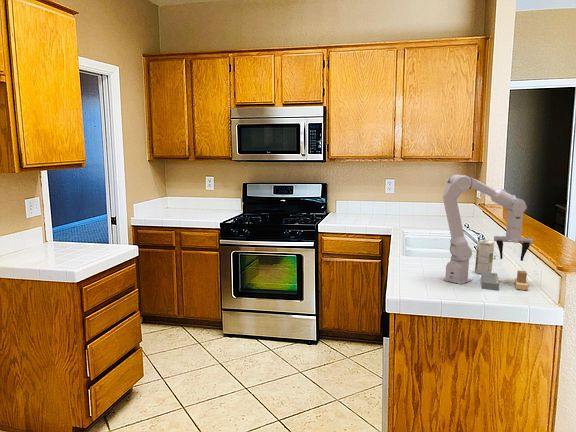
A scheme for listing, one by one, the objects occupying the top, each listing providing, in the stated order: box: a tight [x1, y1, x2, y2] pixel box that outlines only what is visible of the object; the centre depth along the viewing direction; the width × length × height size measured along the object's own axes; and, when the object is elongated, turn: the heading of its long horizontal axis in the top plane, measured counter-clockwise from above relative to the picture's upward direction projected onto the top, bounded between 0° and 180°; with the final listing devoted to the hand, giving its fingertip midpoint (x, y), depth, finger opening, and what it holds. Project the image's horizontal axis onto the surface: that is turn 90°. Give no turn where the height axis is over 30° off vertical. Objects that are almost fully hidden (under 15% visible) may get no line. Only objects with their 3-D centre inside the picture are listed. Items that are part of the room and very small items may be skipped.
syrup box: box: [474, 239, 495, 275], centre depth 209 cm, size 6×6×14 cm
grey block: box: [481, 272, 500, 291], centre depth 192 cm, size 6×18×3 cm, turn 158°
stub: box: [513, 269, 529, 291], centre depth 187 cm, size 4×10×6 cm, turn 158°
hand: (511, 259), depth 195 cm, fingers open, 7 cm apart
